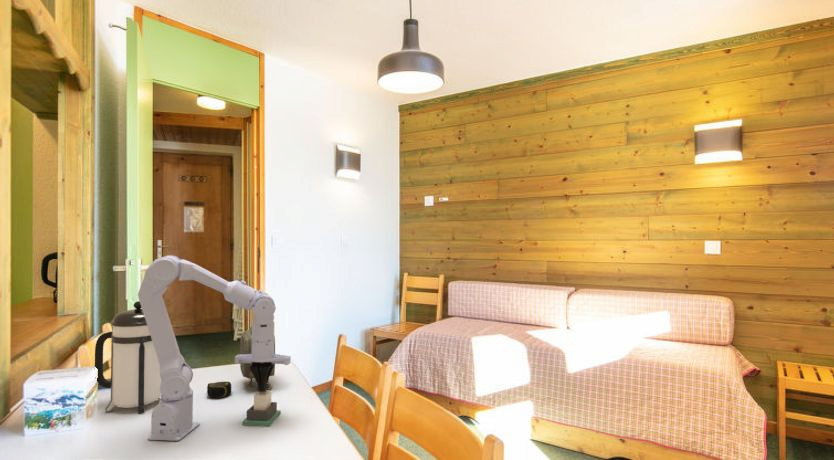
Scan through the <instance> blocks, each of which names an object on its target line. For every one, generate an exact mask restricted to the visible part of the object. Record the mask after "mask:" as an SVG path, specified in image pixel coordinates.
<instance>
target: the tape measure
mask: <svg viewBox="0 0 834 460" xmlns="http://www.w3.org/2000/svg"><path fill="white" fill-rule="evenodd" d="M206 388H207V391H206V392H207V395H208V397H209V398H217V399H218V398H224V397H227V396H229V395H230V394H231V393H232V383H231V382H230V381H217V382H210V383H207V387H206Z"/></svg>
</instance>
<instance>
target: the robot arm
mask: <svg viewBox="0 0 834 460" xmlns="http://www.w3.org/2000/svg"><path fill="white" fill-rule="evenodd" d="M177 279H178V281H179V282H180V281H195V282H198V283H199V284H202V285H204V286H206V287H209V288H210V289H214V290H215V291H217V292H220V293H222V294H223V298H224V301H227V302H229V303H231V304H233V305H236V306H237V307H239V308H242V309H243V310H245V311H252V323H251V326H252V354H240V353H239V354H237V355H235V356H234V365H235V364H239V365H240V363H252V365H251V366H250V370H251V372H252V374H253V375H254V377H255V378H254V379H255V382H256V385H257V392H264V391H265V390H267V389H266V388H267V383H268V382H269V379H270V377H271V376H270V374H271V372H272V369H273V367H274V366H275V367H276V365H284V366H288V365H290V364H291V355H285V354H284V355H283V354H278V353H275V354H274V336H275V321H274V320H275V315H274V314H275V312H276V309H277V308H276V304H275V300H274V298H272V296H271V295H269V294H268V293H266V292H263V290H261V289H258V290H257V289H255V288H254V287H252V286H249V285H247V282H246V281H245V280H242V279H241V280H240V281H239V280H237V279H236V280H233V281H228V280H226V279H224V278H222V277H221V276H219V275H217V274H216V273H213V272H212V271H209V270H208V269H206V268H204V267H202V266H200V265H199V264H197V263H193V262H191V261H189V260H187V259H183V258H182V259H181V258H179V257H178V256H177V255H171V254H167V255H165V256H162V257H159V258H156V259H154V260H153V262H151V263H150V265H149V266H148V267H147V268H146V269H145V271H144V276H143V279H142V282H141V285H140V287H139V290H138V293H137V297H138V301H140V304H141V307H142V308H141V309H142V310H143V313H144V317H145V320H146V323H147V326H148V329H149V332H150V335H151V338H152V341H153V345H154V348H155V351H156V354H157V357H158V360H159V364H160V376H161V385H160V392H161V395H160V397H159V398H160V400H159V401H158V402H159V403H158V404H157V405H156V406H155V407H154V409H153V410H152V413H151V419H150V420H151V421H150V423H151V425H150V426H151V427H150V431H151V432H150V434H151V435H149V436H148V437H147V440H149V441H151V440H152V441H173V442H179V441H181V440H182V439H183V438H184V437H185V436H188V434H190V433H191V432H193V430H195V429H196V428H197V427H199V426H200V425H201V422H195V421H193V416H194V415H193V414H194V413H193V410H194V409H193V407H194V405H193V404H194V395H193V394H194V390H193V389H192V388H191V386H190V383H191V382H192V380H193V377H194V372H193V370H192V368H191V367H190V366H189V365H188V364H187V363H186V361H185V358H184V356H183V355H182V353H181V351H180V347H179V345H178V341H177V338H176V335H175V332H174V329H173V325H172V322H171V319H170V317H169V313H168V309H167V307H166V303H165V299H164V297H163V295H164V294H165V292H166V291H167V290H168V288H169V286H170V284H171V283H172V282H174V281H175V280H177ZM268 384H269V383H268Z"/></svg>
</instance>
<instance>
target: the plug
mask: <svg viewBox="0 0 834 460" xmlns="http://www.w3.org/2000/svg"><path fill="white" fill-rule="evenodd" d="M271 402H272V390H269V389H266V390H265V391H264V392H259V391H257V392H256V393H255V394H254V395H253V405H254V410H263V411H266V410H267V409H268V408H269V407H270V406H271Z"/></svg>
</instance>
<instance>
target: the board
mask: <svg viewBox="0 0 834 460" xmlns="http://www.w3.org/2000/svg"><path fill="white" fill-rule="evenodd" d="M277 407H278V402H277V401H276V402H275V401H271V406H270V407H269V408H268V409H267V410H266V411H263V410H254V404H253V405H252V406H250V407H249V408H248V409H247V410H246V417H245V418H244V419H243V420H242V423H241V424H242V425H241V426H245V427H246V426H248V427H271V425H272V424H273V423H274V422H275V421H276V419H277V418H279V416H280V415H281V412H282V410H280V409H278V408H277Z"/></svg>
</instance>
